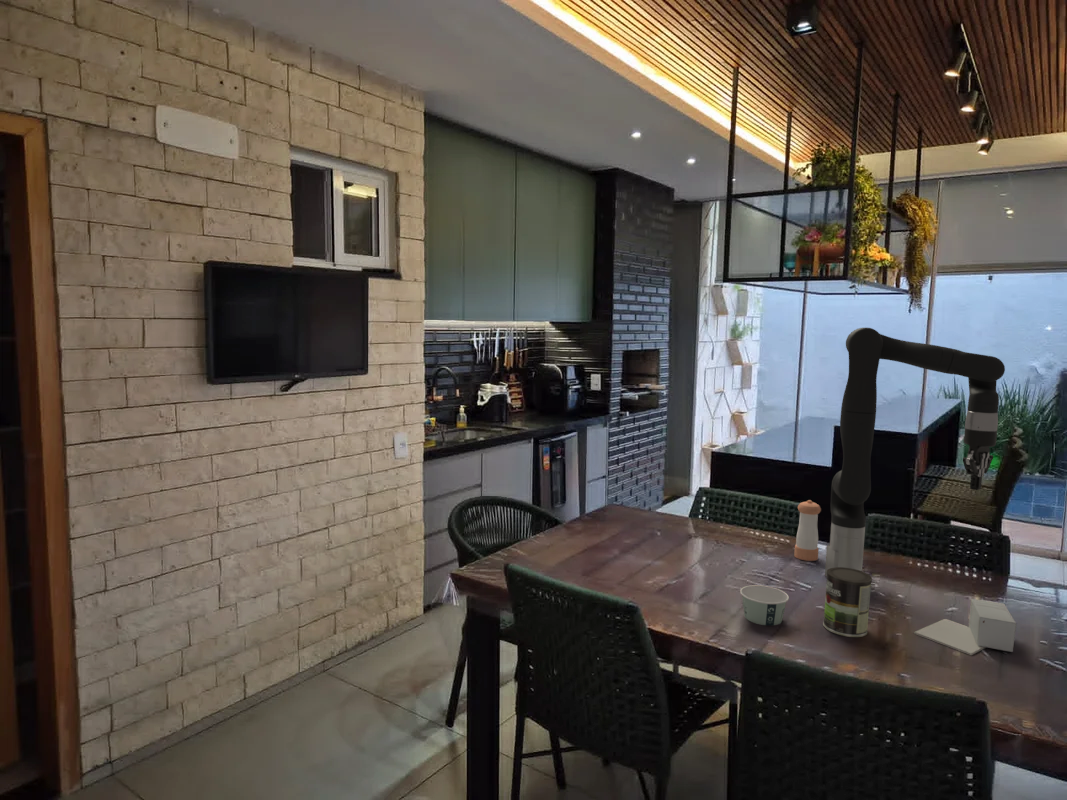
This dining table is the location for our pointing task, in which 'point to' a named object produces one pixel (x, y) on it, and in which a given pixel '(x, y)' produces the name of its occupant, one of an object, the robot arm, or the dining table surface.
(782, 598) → the food container
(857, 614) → the coffee can
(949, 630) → the mat
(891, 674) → the dining table surface
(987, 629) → the supplement box
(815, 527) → the pepper shaker
